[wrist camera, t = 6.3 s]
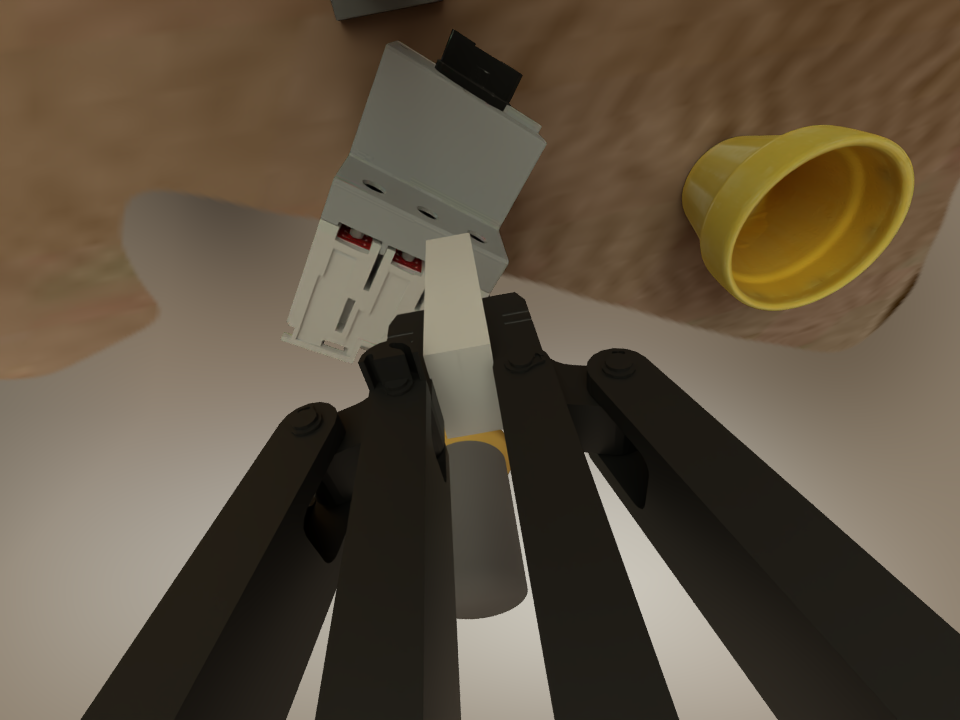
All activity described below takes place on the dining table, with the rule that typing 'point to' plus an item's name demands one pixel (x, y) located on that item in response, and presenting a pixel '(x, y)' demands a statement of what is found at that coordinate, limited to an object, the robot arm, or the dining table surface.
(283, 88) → the dining table surface
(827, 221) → the plant pot
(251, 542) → the robot arm
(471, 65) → the circuit breaker
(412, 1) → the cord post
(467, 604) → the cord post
